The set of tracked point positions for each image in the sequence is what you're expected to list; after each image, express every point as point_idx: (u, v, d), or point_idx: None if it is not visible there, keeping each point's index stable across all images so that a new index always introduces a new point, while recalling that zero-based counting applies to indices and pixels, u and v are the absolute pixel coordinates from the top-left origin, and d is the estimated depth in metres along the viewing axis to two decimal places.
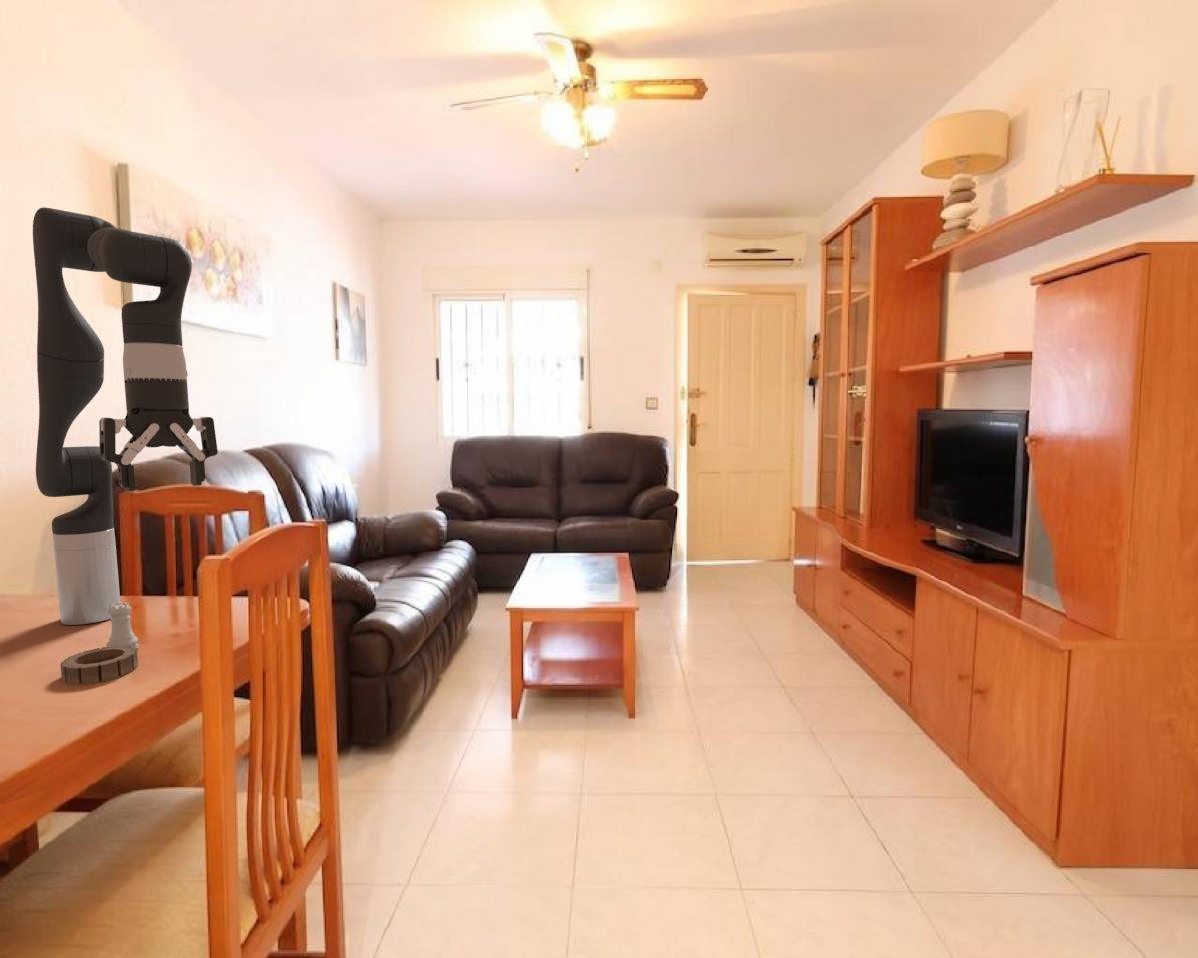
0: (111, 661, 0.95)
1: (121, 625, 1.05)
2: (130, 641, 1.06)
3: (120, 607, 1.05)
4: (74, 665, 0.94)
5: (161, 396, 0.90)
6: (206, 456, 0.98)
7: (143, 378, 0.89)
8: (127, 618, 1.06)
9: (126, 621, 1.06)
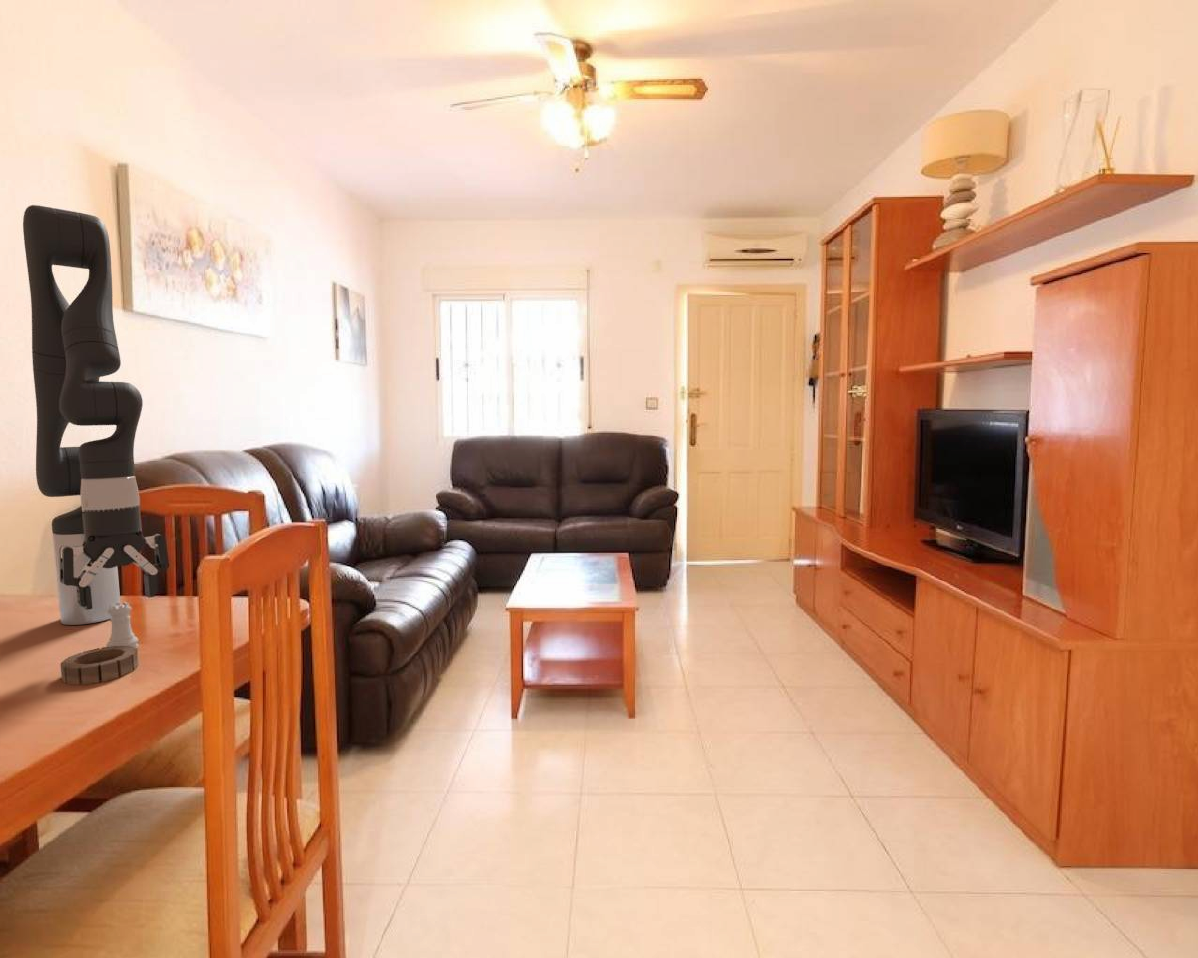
0: (111, 661, 0.95)
1: (121, 625, 1.05)
2: (130, 641, 1.06)
3: (120, 607, 1.05)
4: (74, 665, 0.94)
5: (114, 524, 1.02)
6: (159, 570, 1.09)
7: (98, 510, 1.01)
8: (127, 618, 1.06)
9: (126, 621, 1.06)
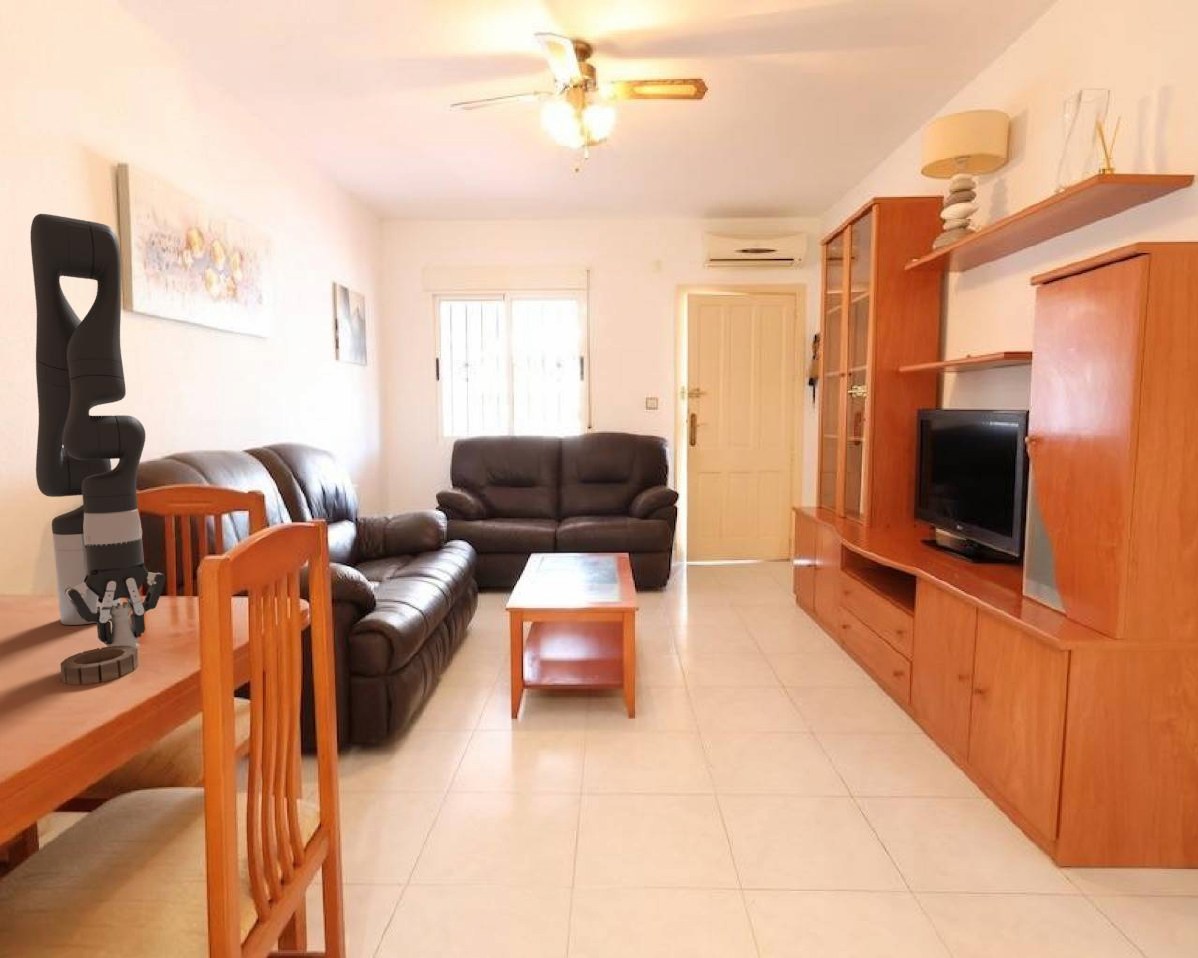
0: (111, 661, 0.95)
1: (121, 625, 1.05)
2: (131, 641, 1.06)
3: (120, 607, 1.05)
4: (74, 665, 0.94)
5: (117, 558, 1.02)
6: (146, 609, 1.08)
7: (101, 544, 1.01)
8: (127, 618, 1.06)
9: (126, 621, 1.06)
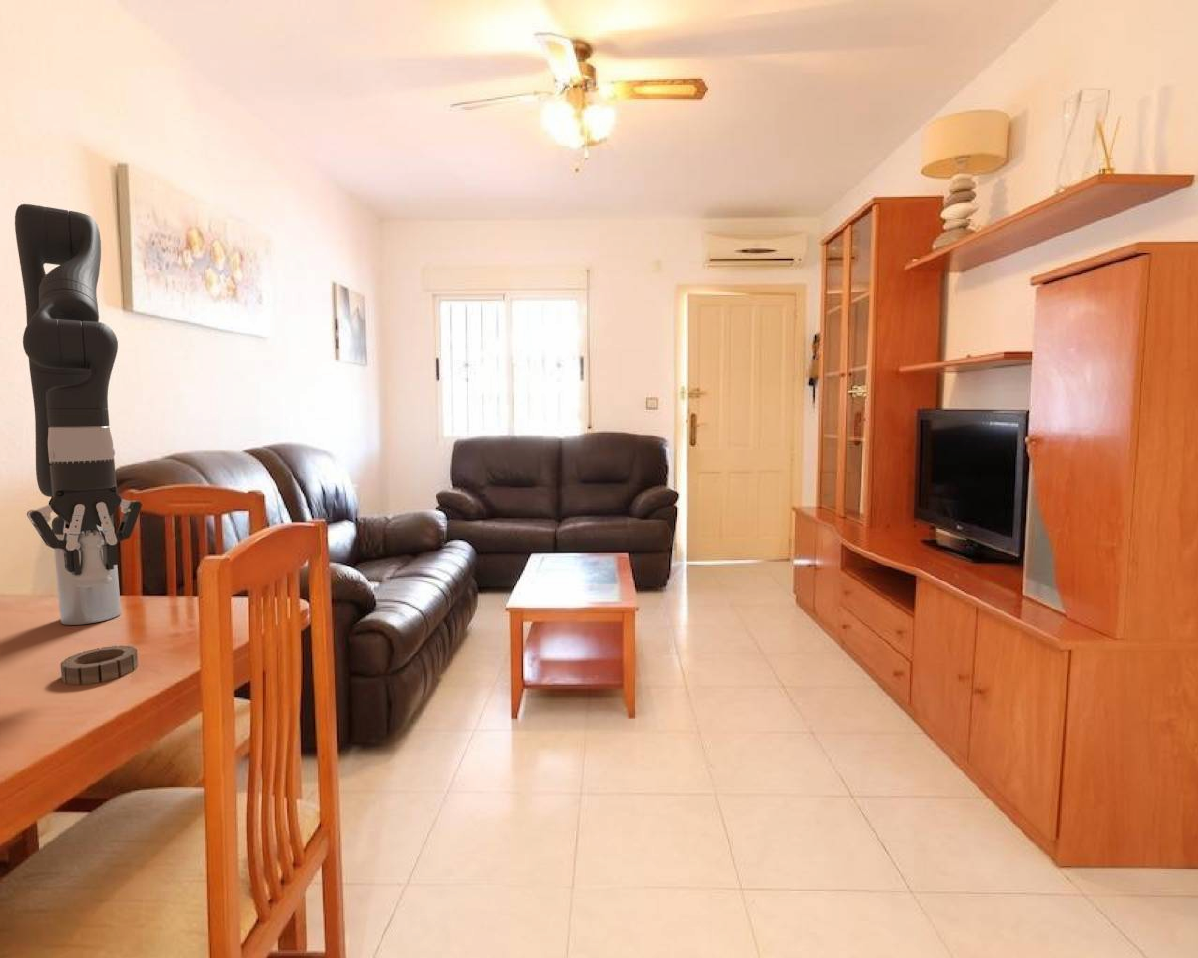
0: (111, 661, 0.95)
1: (91, 555, 0.95)
2: (102, 572, 0.96)
3: (90, 534, 0.95)
4: (74, 665, 0.94)
5: (85, 478, 0.92)
6: (119, 539, 0.98)
7: (67, 461, 0.91)
8: (98, 547, 0.96)
9: (97, 550, 0.96)
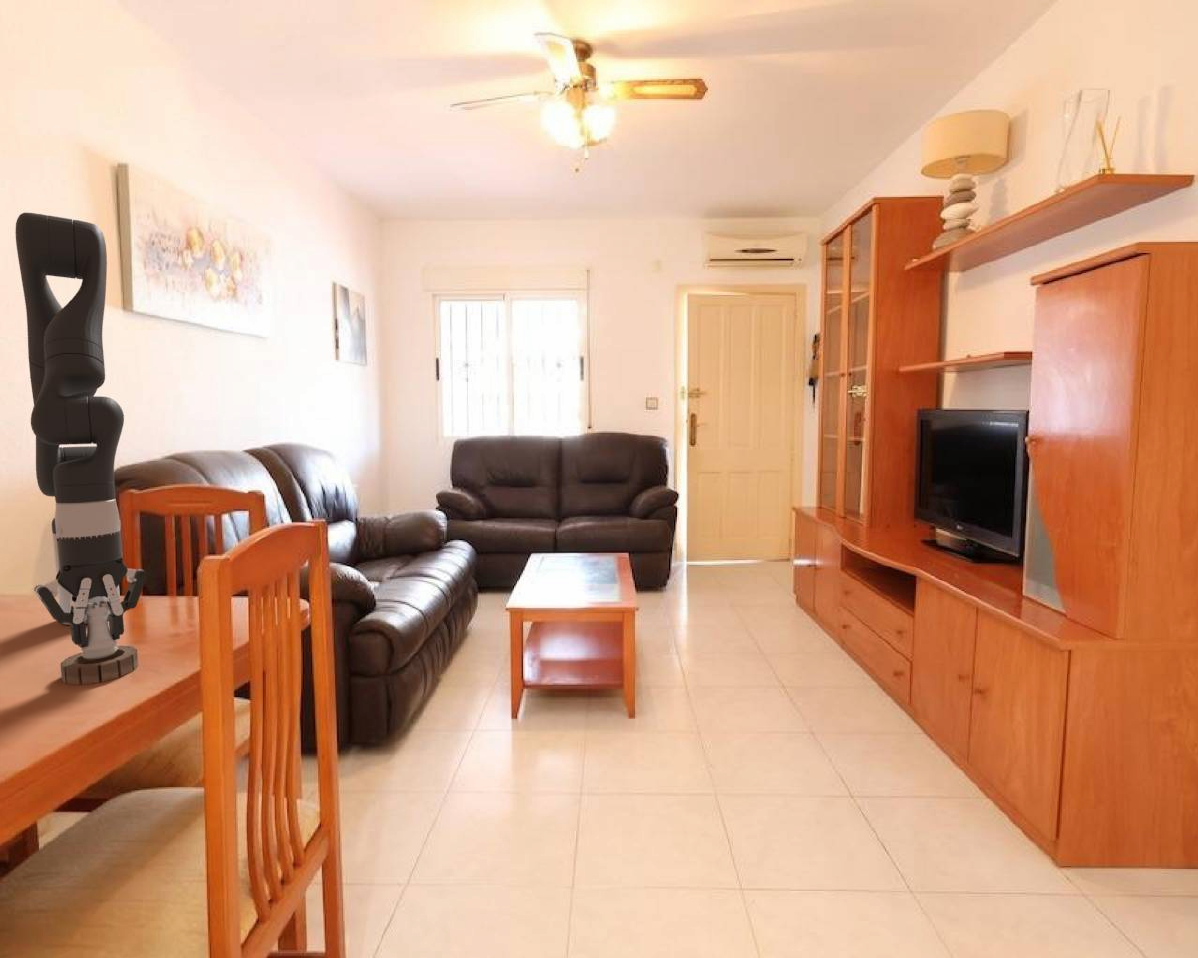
0: (111, 661, 0.95)
1: (97, 626, 0.96)
2: (108, 643, 0.97)
3: (96, 606, 0.96)
4: (74, 665, 0.94)
5: (92, 553, 0.93)
6: (125, 609, 0.99)
7: (74, 537, 0.92)
8: (104, 618, 0.97)
9: (103, 622, 0.97)
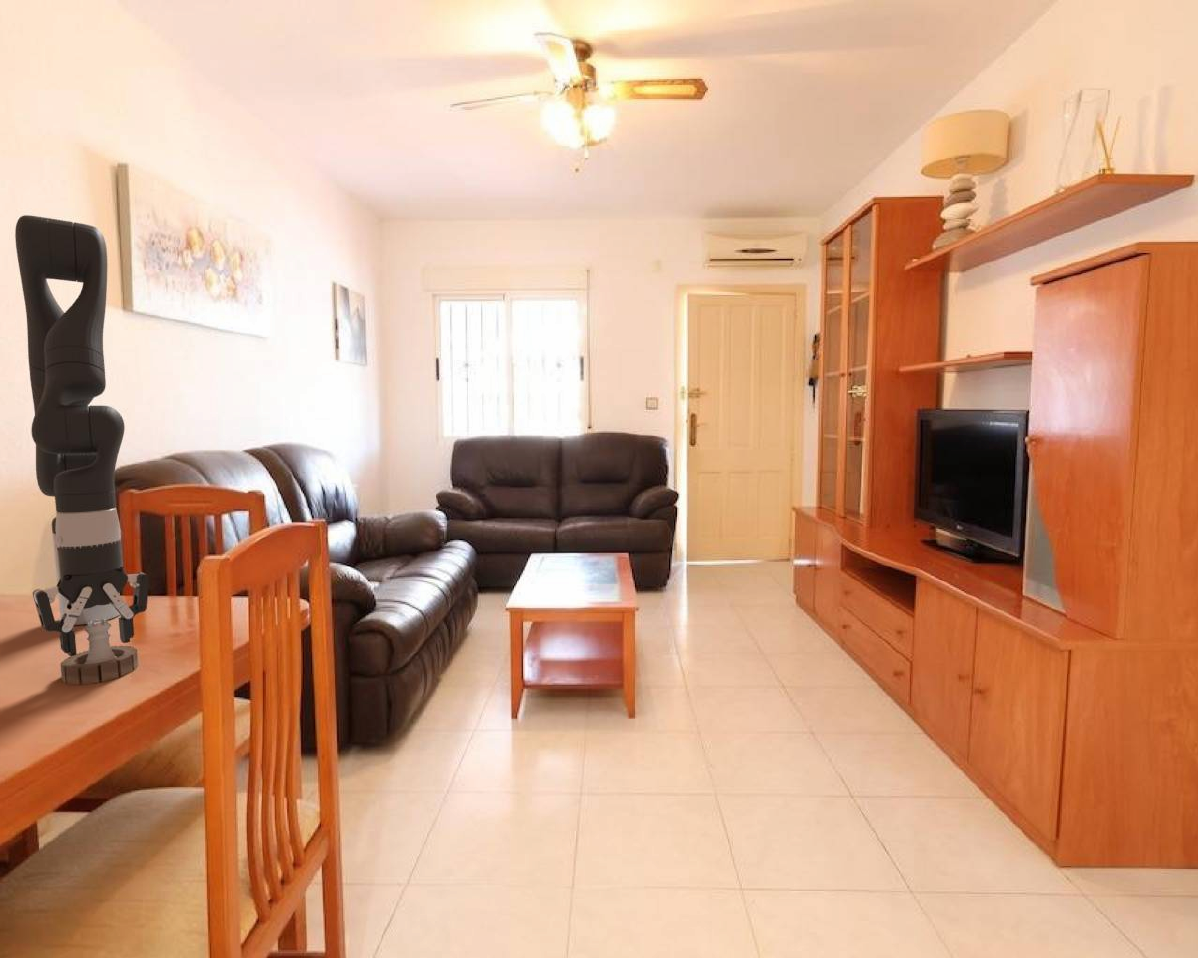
0: (111, 661, 0.95)
1: (99, 644, 0.97)
2: None
3: (98, 624, 0.96)
4: (74, 665, 0.94)
5: (92, 562, 0.93)
6: (135, 613, 1.00)
7: (74, 547, 0.92)
8: (106, 636, 0.97)
9: (104, 639, 0.97)
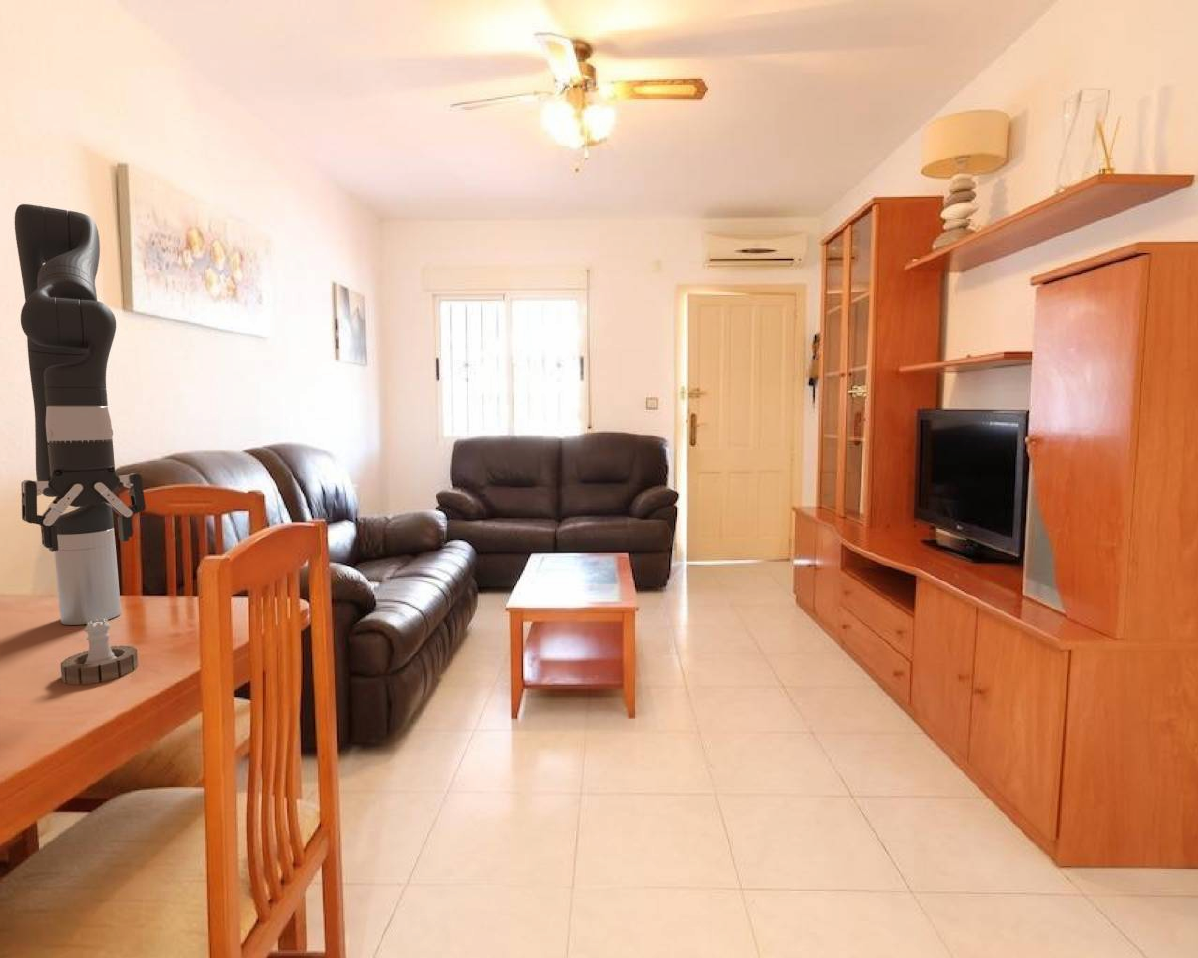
0: (111, 661, 0.95)
1: (99, 644, 0.97)
2: None
3: (98, 624, 0.96)
4: (74, 665, 0.94)
5: (83, 458, 0.92)
6: (134, 512, 0.99)
7: (65, 441, 0.91)
8: (106, 636, 0.97)
9: (104, 639, 0.97)
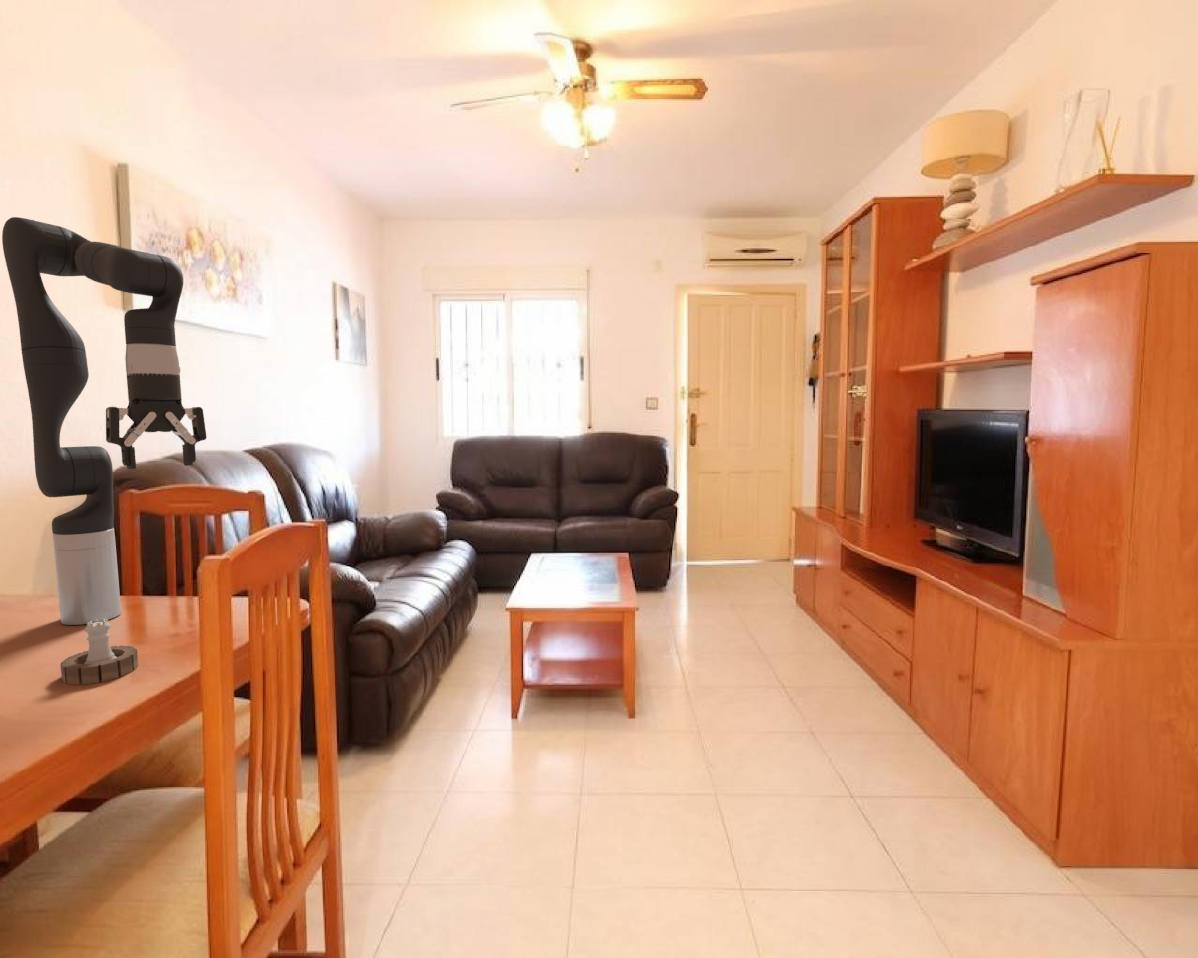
0: (111, 661, 0.95)
1: (99, 644, 0.97)
2: None
3: (98, 624, 0.96)
4: (74, 665, 0.94)
5: (158, 388, 1.07)
6: (196, 440, 1.15)
7: (142, 373, 1.06)
8: (106, 636, 0.97)
9: (104, 639, 0.97)
